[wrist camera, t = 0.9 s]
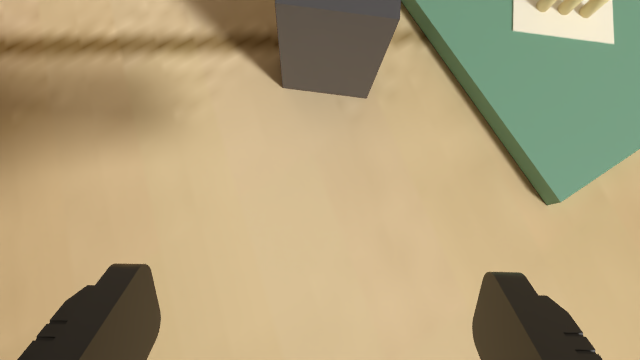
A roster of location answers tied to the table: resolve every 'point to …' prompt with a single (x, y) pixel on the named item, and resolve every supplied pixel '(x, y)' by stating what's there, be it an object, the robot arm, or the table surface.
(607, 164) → the header board
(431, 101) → the table surface
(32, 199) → the table surface
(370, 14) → the block
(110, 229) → the table surface
